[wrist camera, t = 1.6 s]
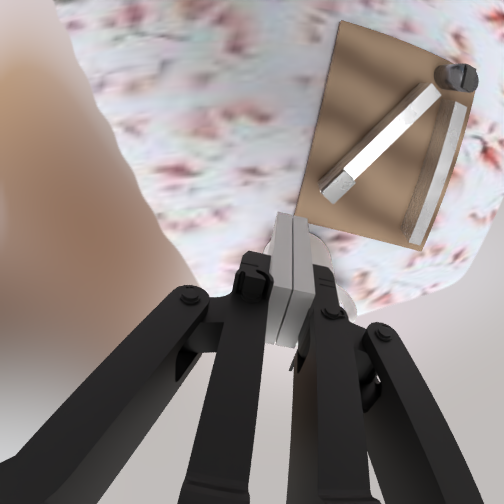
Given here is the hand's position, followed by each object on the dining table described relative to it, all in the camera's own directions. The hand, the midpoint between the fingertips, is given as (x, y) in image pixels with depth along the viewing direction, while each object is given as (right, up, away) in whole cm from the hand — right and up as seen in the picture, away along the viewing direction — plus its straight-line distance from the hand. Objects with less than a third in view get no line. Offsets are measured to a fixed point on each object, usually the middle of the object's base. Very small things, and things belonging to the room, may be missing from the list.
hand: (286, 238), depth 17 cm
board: (+13, +11, +13) cm, 21 cm away
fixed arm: (+17, +10, +12) cm, 23 cm away
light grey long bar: (+11, +11, +12) cm, 19 cm away
